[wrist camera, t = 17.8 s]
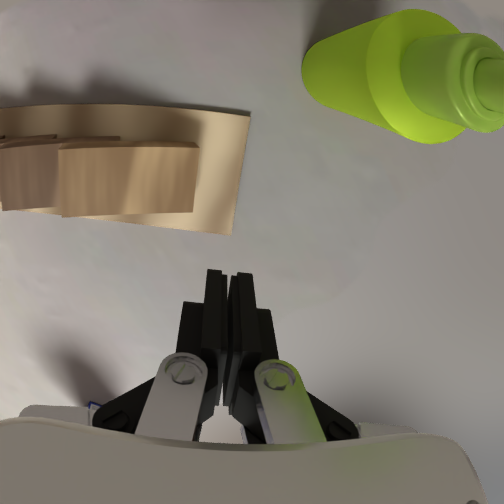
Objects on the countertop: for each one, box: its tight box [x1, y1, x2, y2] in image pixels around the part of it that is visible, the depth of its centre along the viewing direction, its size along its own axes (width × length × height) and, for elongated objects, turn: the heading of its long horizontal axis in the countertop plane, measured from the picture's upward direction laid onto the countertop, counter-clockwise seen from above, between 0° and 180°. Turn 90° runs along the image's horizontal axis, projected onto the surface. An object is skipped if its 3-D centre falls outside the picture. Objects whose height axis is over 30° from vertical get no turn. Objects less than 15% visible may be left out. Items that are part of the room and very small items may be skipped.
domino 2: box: [58, 141, 200, 218], centre depth 22 cm, size 2×5×10 cm
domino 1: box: [0, 136, 120, 211], centre depth 21 cm, size 2×5×10 cm
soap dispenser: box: [302, 9, 504, 144], centre depth 13 cm, size 6×7×20 cm
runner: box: [0, 104, 250, 236], centre depth 23 cm, size 29×10×1 cm, turn 80°
